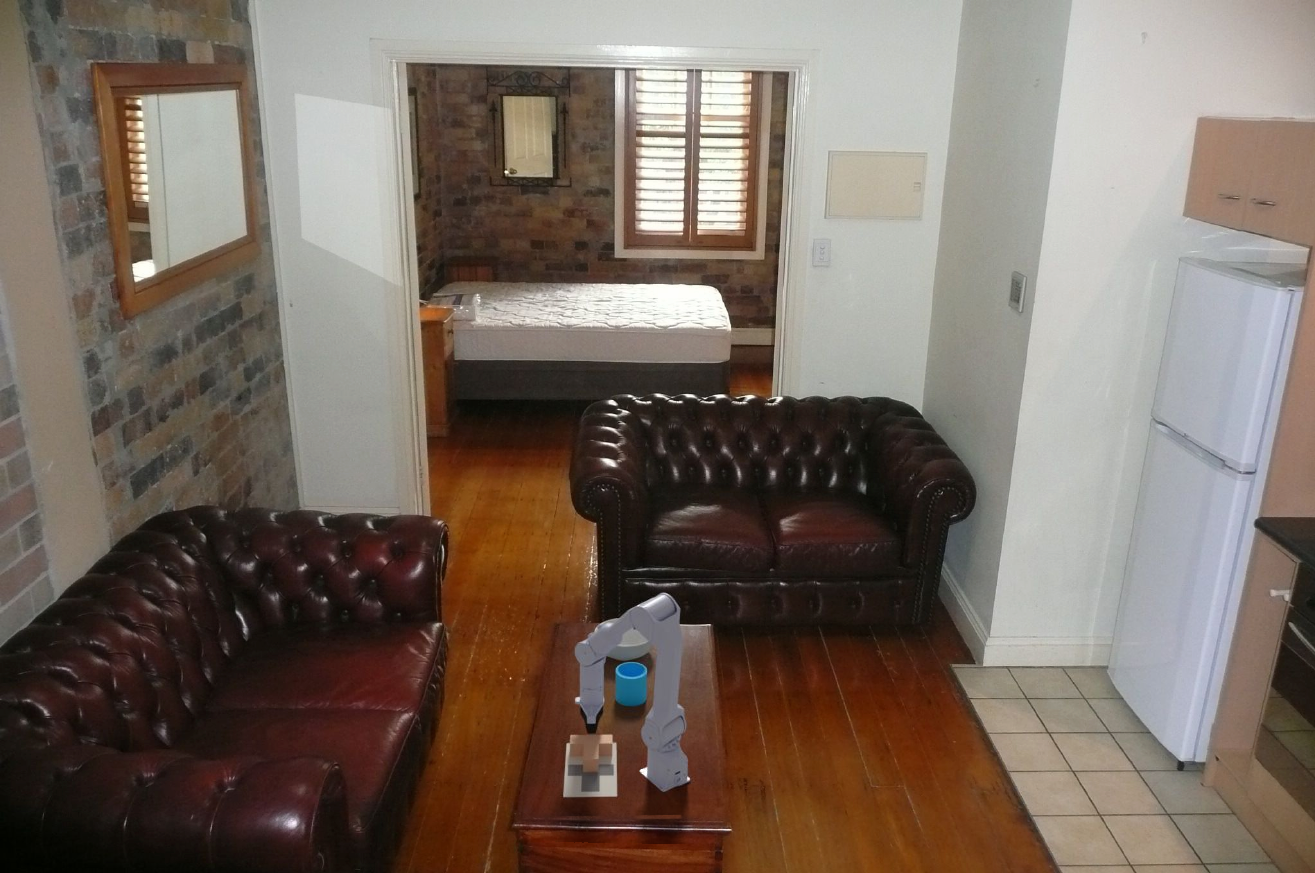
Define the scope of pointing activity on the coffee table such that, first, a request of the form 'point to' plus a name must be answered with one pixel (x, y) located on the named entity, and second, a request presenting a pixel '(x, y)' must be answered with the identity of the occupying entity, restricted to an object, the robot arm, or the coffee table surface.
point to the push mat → (590, 776)
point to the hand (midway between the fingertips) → (591, 731)
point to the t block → (590, 749)
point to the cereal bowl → (629, 645)
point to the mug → (631, 684)
